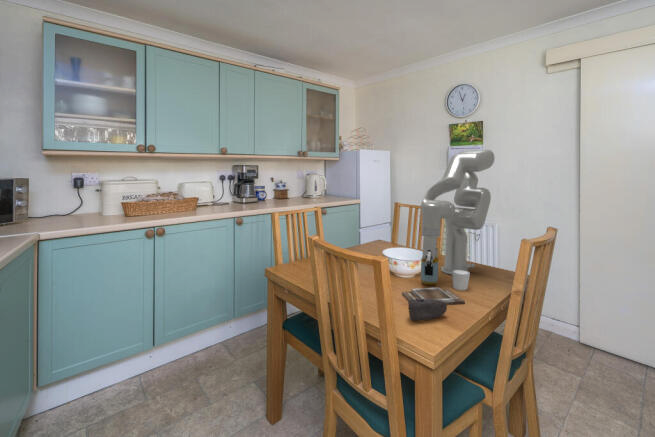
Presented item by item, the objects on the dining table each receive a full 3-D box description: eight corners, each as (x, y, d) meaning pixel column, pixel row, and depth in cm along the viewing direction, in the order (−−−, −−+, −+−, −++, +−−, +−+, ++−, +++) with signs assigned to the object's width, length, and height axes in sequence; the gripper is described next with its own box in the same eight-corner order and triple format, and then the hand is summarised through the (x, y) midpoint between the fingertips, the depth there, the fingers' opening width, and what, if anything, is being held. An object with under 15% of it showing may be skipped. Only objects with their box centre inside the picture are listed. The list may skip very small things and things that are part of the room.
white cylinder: (472, 289, 131) (473, 273, 130) (458, 291, 129) (460, 275, 128) (461, 284, 137) (462, 268, 136) (447, 285, 135) (448, 270, 134)
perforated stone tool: (442, 312, 110) (443, 294, 109) (450, 319, 105) (452, 300, 104) (402, 317, 107) (403, 297, 106) (409, 324, 102) (410, 304, 101)
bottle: (425, 285, 133) (426, 251, 130) (417, 280, 139) (418, 247, 137) (440, 284, 134) (442, 250, 131) (432, 278, 141) (433, 246, 138)
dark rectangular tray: (448, 291, 129) (448, 286, 129) (464, 303, 117) (465, 298, 117) (401, 294, 126) (402, 289, 126) (414, 307, 115) (414, 302, 114)
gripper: (423, 227, 142) (422, 265, 145) (419, 235, 126) (418, 278, 129) (441, 228, 139) (439, 267, 142) (439, 237, 123) (437, 280, 127)
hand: (429, 271), depth 136 cm, fingers closed on bottle, 6 cm apart
